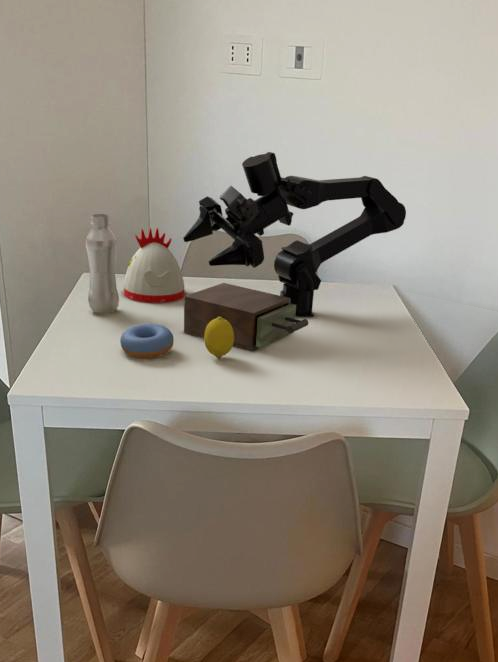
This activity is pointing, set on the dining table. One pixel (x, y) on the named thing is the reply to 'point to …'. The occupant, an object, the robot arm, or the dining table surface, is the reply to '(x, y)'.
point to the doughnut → (146, 341)
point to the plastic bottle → (102, 265)
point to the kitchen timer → (153, 272)
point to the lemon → (219, 337)
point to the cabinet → (229, 310)
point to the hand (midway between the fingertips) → (196, 251)
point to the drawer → (276, 324)
